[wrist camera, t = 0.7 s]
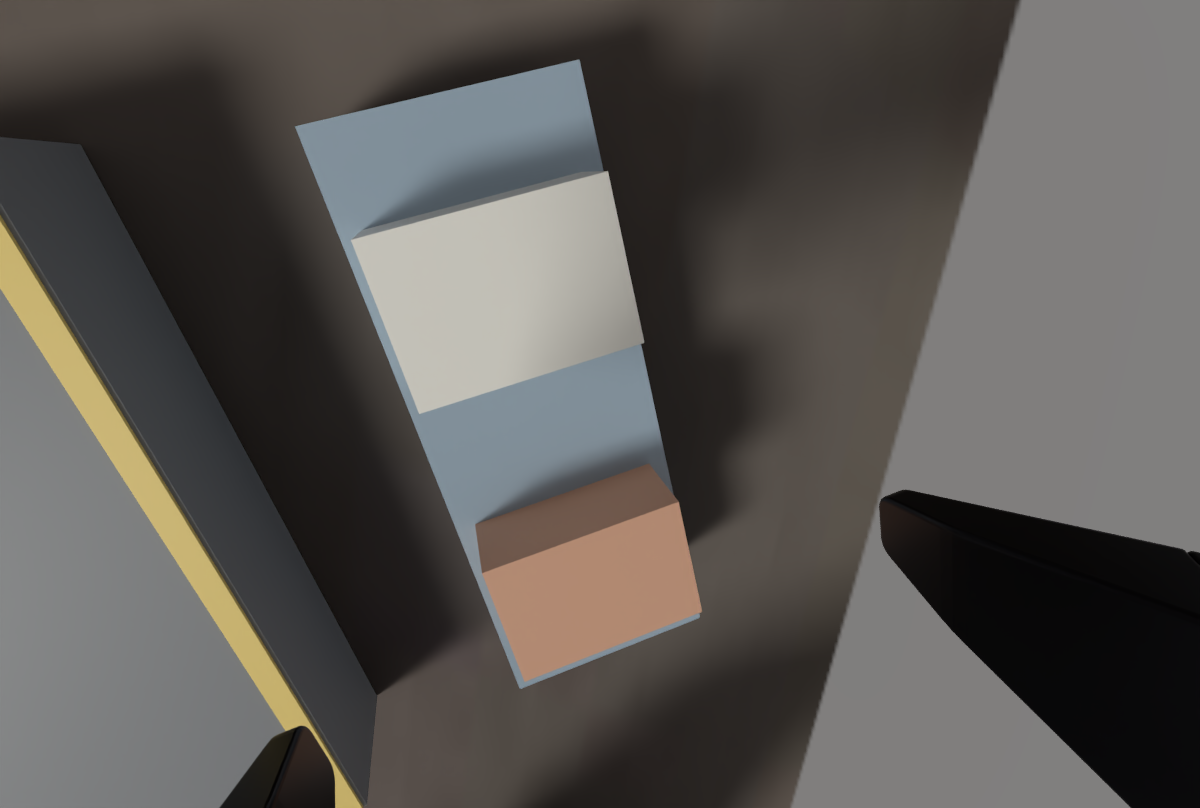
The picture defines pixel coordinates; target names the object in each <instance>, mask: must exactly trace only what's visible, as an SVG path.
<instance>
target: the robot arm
mask: <svg viewBox="0 0 1200 808" xmlns="http://www.w3.org/2000/svg"><path fill="white" fill-rule="evenodd" d="M879 510H880V525H881V539H882V543H883V546H884V548H885V550H886V552H887V554H888V555H889V556H890V557H891V559H892V560H893V561H894V562H895V563H896V564H897V566H898V567H899V568H900V569H901V571H902V572H903V573H904V574H905V575H906V577H907V578H908V579H909V580H910V581H911V583H912V584H913V585H914V586H915V587H916V589H917V590H918V591H919V592H920V593H921V594H922V596H923V597H924V598H925V599H926V601H927V602H928V603H929V604H930V605H931V607H932V608H933V609H934V610H935V611H936V612H937V614H938V615H939V616H940V617H941V619H942V620H943V621H944V622H945V623H946V624H947V625H948V626H949V627H950V629H951V630H952V631H953V632H954V633H955V634H956V635H957V636H958V637H959V638H960V639H961V640H962V641H963V642H964V643H965V644H966V645H967V646H968V647H969V648H970V649H971V650H972V651H973V652H974V653H975V654H976V655H977V656H978V657H979V658H980V659H981V660H982V661H983V662H984V663H985V664H986V665H987V666H988V667H989V668H990V669H991V670H992V671H993V672H994V673H995V674H996V675H997V676H998V677H999V678H1000V679H1001V680H1002V681H1003V682H1004V683H1005V684H1006V685H1007V686H1008V687H1009V688H1010V689H1011V690H1012V691H1013V692H1014V693H1015V694H1016V695H1017V696H1018V697H1019V698H1020V699H1021V700H1023V702H1024V703H1025V704H1026V705H1027V706H1029V708H1030V709H1031V710H1033V712H1034V713H1035V714H1037V715H1038V716H1039V717H1040V718H1041V719H1042V720H1043V721H1044V722H1045V723H1046V724H1047V725H1048V726H1049V727H1050V728H1051V729H1052V730H1053V731H1054V732H1055V733H1056V734H1057V735H1058V736H1059V737H1060V738H1061V739H1062V740H1063V741H1064V742H1065V743H1066V744H1067V745H1068V746H1069V747H1070V748H1071V749H1072V750H1073V751H1074V752H1075V753H1076V754H1077V755H1078V756H1079V757H1080V758H1081V759H1082V760H1083V761H1084V762H1085V763H1086V764H1087V765H1088V766H1089V767H1090V768H1091V769H1092V770H1093V771H1094V772H1095V773H1096V774H1097V775H1098V776H1099V777H1100V778H1101V779H1102V780H1103V781H1104V782H1105V783H1107V784H1108V785H1109V787H1111V789H1112V790H1113V791H1114V792H1116V793H1117V794H1118V795H1119V796H1120V797H1121V798H1122V799H1123V800H1124V801H1125V802H1126V803H1127V804H1128V805H1129V806H1130V807H1131V808H1200V553H1199V552H1194V551H1190V552H1188V553H1187V552H1186V551H1185V550H1183V549H1180V548H1175V547H1170V546H1166V545H1161V544H1156V543H1152V542H1147V541H1142V540H1138V539H1133V538H1129V537H1124V536H1119V535H1115V534H1110V533H1105V532H1101V531H1096V530H1092V529H1086V528H1082V527H1078V526H1073V525H1068V524H1064V523H1059V522H1054V521H1050V520H1045V519H1041V518H1035V517H1031V516H1026V515H1022V514H1017V513H1013V512H1007V511H1003V510H999V509H994V508H989V507H984V506H980V505H975V504H971V503H966V502H961V501H957V500H952V499H948V498H943V497H938V496H934V495H929V494H924V493H920V492H915V491H910V490H901V491H898V492H896V493H893V494H891V495H888V496H885V497H884V498H882V499H881V501H880V504H879ZM219 808H335V776H334V771H333V767H332V765H331V762H330V761H329V759H328V757H327V756H326V754H325V753H324V751H323V749H322V748H321V746H320V745H319V743H318V741H317V740H316V738H315V737H314V735H313V733H312V732H311V731H310V729H309V728H307V727H306V726H298V727H295V728H293V729H290V730H287V731H285V732H282V733H280V734H277V735H276V736H274V737H273V738H271V739H270V741H269V742H268V743H267V744H266V746H265V747H264V748H263V750H262V751H261V752H260V754H259V755H258V756H257V758H256V759H255V760H254V762H253V763H252V764H251V766H250V767H249V768H248V770H247V771H246V772H245V774H244V775H243V776H242V778H241V779H240V781H239V782H238V783H237V785H236V786H235V787H234V789H233V790H232V791H231V793H230V794H229V795H228V797H227V798H226V799H225V801H224V802H223V803H222V805H221V806H220V807H219Z"/></svg>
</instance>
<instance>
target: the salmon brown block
mask: <svg viewBox="0 0 1200 808" xmlns="http://www.w3.org/2000/svg"><path fill="white" fill-rule="evenodd" d="M475 528H476V535H477V542H478V549H479V556H480V563H481V570H482V575H483V577H484V580H485V582H486V585H487V587H488V590H489V593H490V595H491V598H492V600H493V603H494V605H495V608H496V610H497V613H498V615H499V618H500V621H501V623H502V626H503V628H504V631H505V633H506V636H507V638H508V641H509V643H510V646H511V649H512V651H513V654H514V656H515V659H516V661H517V664H518V666H519V669H520V671H521V674H522V677H523V679H524V682H526V681H528V680H531V679H533V678H536V677H538V676H541V675H543V674H546V673H548V672H551V671H554V670H556V669H559V668H561V667H564V666H566V665H569V664H571V663H574V662H576V661H579V660H581V659H584V658H586V657H589V656H591V655H594V654H597V653H599V652H602V651H604V650H607V649H609V648H612V647H614V646H617V645H619V644H622V643H624V642H627V641H629V640H632V639H634V638H637V637H640V636H642V635H645V634H647V633H650V632H652V631H655V630H657V629H660V628H662V627H665V626H667V625H670V624H672V623H675V622H677V621H680V620H682V619H685V618H688V617H690V616H693V615H695V614H698V613H700V612H702V609H701V604H700V599H699V595H698V590H697V585H696V581H695V576H694V571H693V567H692V562H691V557H690V553H689V548H688V543H687V539H686V534H685V529H684V525H683V520H682V515H681V511H680V506H679V502H678V500H677V499H676V498H675V496H674V495H673V494H672V493H671V491H670V490H669V489H668V487H667V486H666V485H665V484H664V482H663V481H662V480H661V478H660V477H659V476H658V474H657V473H656V472H655V471H654V469H653V468H652V467H651V465H650V464H646V465H643V466H640V467H638V468H635V469H632V470H629V471H626V472H623V473H620V474H618V475H615V476H612V477H609V478H606V479H603V480H600V481H597V482H595V483H592V484H589V485H586V486H583V487H580V488H577V489H575V490H572V491H569V492H566V493H563V494H560V495H557V496H555V497H552V498H549V499H546V500H543V501H540V502H537V503H535V504H532V505H529V506H526V507H523V508H520V509H517V510H515V511H512V512H509V513H506V514H503V515H500V516H497V517H495V518H492V519H489V520H486V521H483V522H480V523H477V524H475Z"/></svg>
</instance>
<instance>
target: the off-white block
mask: <svg viewBox="0 0 1200 808" xmlns="http://www.w3.org/2000/svg"><path fill="white" fill-rule="evenodd" d="M351 242H352V244H353V247H354V249H355V252H356V255H357V257H358V260H359V262H360V265H361V267H362V270H363V272H364V275H365V277H366V280H367V283H368V285H369V288H370V290H371V293H372V295H373V298H374V300H375V303H376V305H377V308H378V311H379V313H380V316H381V318H382V321H383V323H384V326H385V328H386V331H387V333H388V336H389V339H390V341H391V344H392V346H393V349H394V351H395V354H396V356H397V359H398V361H399V364H400V367H401V369H402V372H403V374H404V377H405V379H406V382H407V384H408V387H409V389H410V392H411V394H412V397H413V400H414V402H415V405H416V407H417V410H418V412H419V414H421V413H424V412H427V411H431V410H434V409H437V408H440V407H443V406H446V405H450V404H453V403H456V402H459V401H462V400H465V399H468V398H472V397H475V396H478V395H481V394H484V393H487V392H491V391H494V390H497V389H500V388H503V387H506V386H510V385H513V384H516V383H519V382H522V381H525V380H529V379H532V378H535V377H538V376H541V375H544V374H547V373H551V372H554V371H557V370H560V369H563V368H566V367H570V366H573V365H576V364H579V363H582V362H585V361H589V360H592V359H595V358H598V357H601V356H604V355H607V354H611V353H614V352H617V351H620V350H623V349H626V348H630V347H633V346H636V345H639V344H642V343H644V338H643V333H642V329H641V324H640V319H639V315H638V310H637V305H636V301H635V296H634V291H633V287H632V282H631V277H630V273H629V268H628V263H627V258H626V254H625V249H624V244H623V240H622V235H621V230H620V226H619V221H618V216H617V212H616V207H615V202H614V198H613V193H612V188H611V183H610V179H609V174H608V171H591V172H579V173H575V174H571V175H567V176H564V177H560V178H556V179H552V180H549V181H545V182H541V183H537V184H534V185H530V186H526V187H522V188H519V189H515V190H511V191H507V192H504V193H500V194H496V195H492V196H488V197H485V198H481V199H477V200H473V201H470V202H466V203H462V204H458V205H455V206H451V207H447V208H443V209H440V210H436V211H432V212H428V213H425V214H421V215H417V216H413V217H410V218H406V219H402V220H398V221H394V222H391V223H387V224H383V225H379V226H376V227H372V228H368V229H364V230H362V231H361V232H359V233H358V234H357V235H356V236H355V237H354V238H352V239H351Z"/></svg>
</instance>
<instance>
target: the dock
mask: <svg viewBox="0 0 1200 808" xmlns="http://www.w3.org/2000/svg"><path fill="white" fill-rule="evenodd" d="M376 703H377V695H376V693H375V692H374V690H373V688H372V686H371V684H370V682H369V680H368V679H367V677H366V675H365V673H364V671H363V669H362V667H361V666H360V664H359V662H358V660H357V658H356V656H355V654H354V652H353V651H352V649H351V647H350V645H349V643H348V641H347V639H346V638H345V636H344V634H343V632H342V630H341V628H340V626H339V625H338V623H337V621H336V619H335V617H334V615H333V613H332V612H331V610H330V608H329V606H328V604H327V602H326V600H325V598H324V597H323V595H322V593H321V591H320V589H319V587H318V585H317V584H316V582H315V580H314V578H313V576H312V574H311V572H310V571H309V569H308V567H307V565H306V563H305V561H304V559H303V558H302V556H301V554H300V552H299V550H298V548H297V546H296V545H295V543H294V541H293V539H292V537H291V535H290V533H289V531H288V530H287V528H286V526H285V524H284V522H283V520H282V518H281V517H280V515H279V513H278V511H277V509H276V507H275V505H274V504H273V502H272V500H271V498H270V496H269V494H268V492H267V491H266V489H265V487H264V485H263V483H262V481H261V479H260V477H259V476H258V474H257V472H256V470H255V468H254V466H253V464H252V463H251V461H250V459H249V457H248V455H247V453H246V451H245V450H244V448H243V446H242V444H241V442H240V440H239V438H238V437H237V435H236V433H235V431H234V429H233V427H232V425H231V424H230V422H229V420H228V418H227V416H226V414H225V412H224V410H223V409H222V407H221V405H220V403H219V401H218V399H217V397H216V396H215V394H214V392H213V390H212V388H211V386H210V384H209V383H208V381H207V379H206V377H205V375H204V373H203V371H202V370H201V368H200V366H199V364H198V362H197V360H196V358H195V356H194V355H193V353H192V351H191V349H190V347H189V345H188V343H187V342H186V340H185V338H184V336H183V334H182V332H181V330H180V329H179V327H178V325H177V323H176V321H175V319H174V317H173V316H172V314H171V312H170V310H169V308H168V306H167V304H166V303H165V301H164V299H163V297H162V295H161V293H160V291H159V289H158V288H157V286H156V284H155V282H154V280H153V278H152V276H151V275H150V273H149V271H148V269H147V267H146V265H145V263H144V262H143V260H142V258H141V256H140V254H139V252H138V250H137V249H136V247H135V245H134V243H133V241H132V239H131V237H130V236H129V234H128V232H127V230H126V228H125V226H124V224H123V222H122V221H121V219H120V217H119V215H118V213H117V211H116V209H115V208H114V206H113V204H112V202H111V200H110V198H109V196H108V195H107V193H106V191H105V189H104V187H103V185H102V183H101V182H100V180H99V178H98V176H97V174H96V172H95V170H94V168H93V167H92V165H91V163H90V161H89V159H88V157H87V155H86V154H85V152H84V150H83V148H82V146H81V144H71V143H60V142H49V141H38V140H27V139H16V138H5V137H0V808H219V807H220V806H221V805H222V803H223V802H224V801H225V799H226V798H227V797H228V795H229V794H230V793H231V791H232V790H233V789H234V787H235V786H236V785H237V783H238V782H239V781H240V779H241V778H242V776H243V775H244V774H245V772H246V771H247V770H248V768H249V767H250V766H251V764H252V763H253V762H254V760H255V759H256V758H257V756H258V755H259V754H260V752H261V751H262V750H263V748H264V747H265V746H266V744H267V743H268V742H269V741H270V739H271V738H273V737H274V736H276V735H277V734H280V733H282V732H285V731H287V730H290V729H293V728H295V727H298V726H306V727H307V728H309V729H310V731H311V732H312V733H313V735H314V737H315V738H316V740H317V741H318V743H319V745H320V746H321V748H322V749H323V751H324V753H325V754H326V756H327V757H328V759H329V761H330V762H331V765H332V767H333V771H334V776H335V808H363V806H365V805H367V798H368V787H369V777H370V766H371V756H372V745H373V734H374V724H375V713H376Z"/></svg>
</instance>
